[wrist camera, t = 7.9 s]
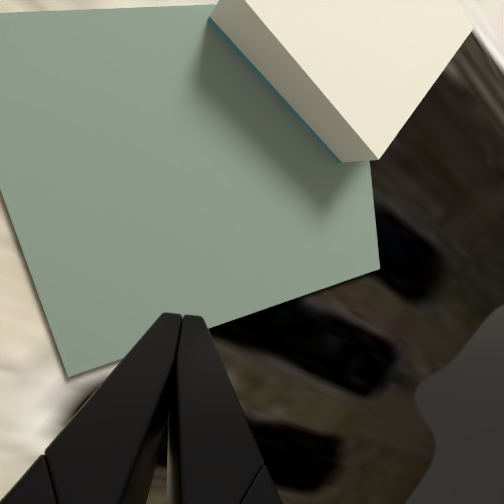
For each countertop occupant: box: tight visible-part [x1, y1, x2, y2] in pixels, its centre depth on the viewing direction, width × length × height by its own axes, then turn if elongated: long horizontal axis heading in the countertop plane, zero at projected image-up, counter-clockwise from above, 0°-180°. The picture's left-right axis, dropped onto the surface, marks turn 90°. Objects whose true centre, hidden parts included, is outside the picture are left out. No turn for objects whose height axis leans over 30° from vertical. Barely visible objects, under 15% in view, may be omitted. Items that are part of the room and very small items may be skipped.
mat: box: [0, 5, 380, 377], centre depth 17 cm, size 14×17×1 cm
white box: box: [208, 0, 475, 163], centre depth 16 cm, size 3×9×8 cm
